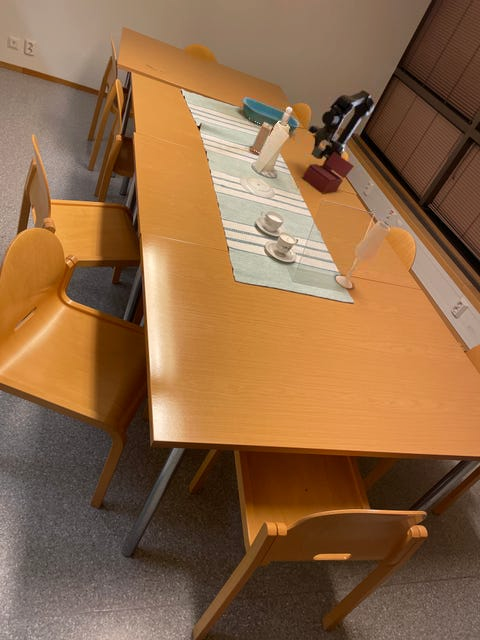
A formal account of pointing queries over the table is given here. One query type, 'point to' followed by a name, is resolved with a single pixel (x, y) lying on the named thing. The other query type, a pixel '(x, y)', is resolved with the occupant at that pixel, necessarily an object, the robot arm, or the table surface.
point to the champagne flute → (366, 249)
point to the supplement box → (261, 137)
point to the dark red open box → (322, 178)
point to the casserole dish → (265, 114)
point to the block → (317, 152)
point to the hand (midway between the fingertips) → (317, 154)
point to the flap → (339, 165)
